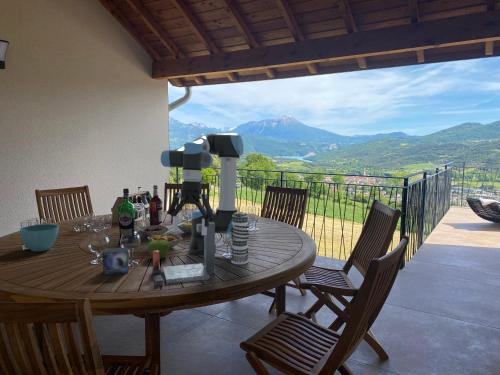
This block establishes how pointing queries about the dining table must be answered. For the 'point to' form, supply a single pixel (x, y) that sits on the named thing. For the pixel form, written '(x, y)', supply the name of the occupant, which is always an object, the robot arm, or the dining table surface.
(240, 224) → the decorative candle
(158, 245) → the apple
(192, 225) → the robot arm
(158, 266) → the lever
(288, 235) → the dining table surface
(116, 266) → the small box
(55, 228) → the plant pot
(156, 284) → the press
